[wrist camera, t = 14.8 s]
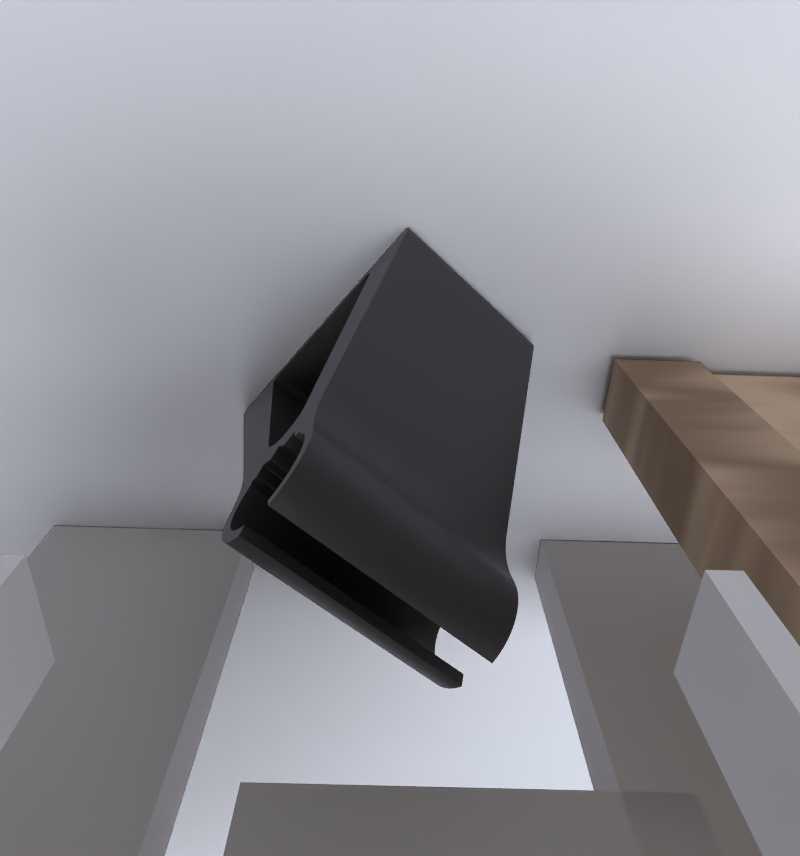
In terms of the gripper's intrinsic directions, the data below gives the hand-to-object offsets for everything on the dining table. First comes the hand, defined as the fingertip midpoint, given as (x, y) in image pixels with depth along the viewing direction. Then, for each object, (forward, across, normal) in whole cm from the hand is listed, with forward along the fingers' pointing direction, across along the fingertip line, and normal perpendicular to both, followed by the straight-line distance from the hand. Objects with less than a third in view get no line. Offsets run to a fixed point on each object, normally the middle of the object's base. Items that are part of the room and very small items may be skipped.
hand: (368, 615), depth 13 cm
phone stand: (+12, 0, 0) cm, 12 cm away
